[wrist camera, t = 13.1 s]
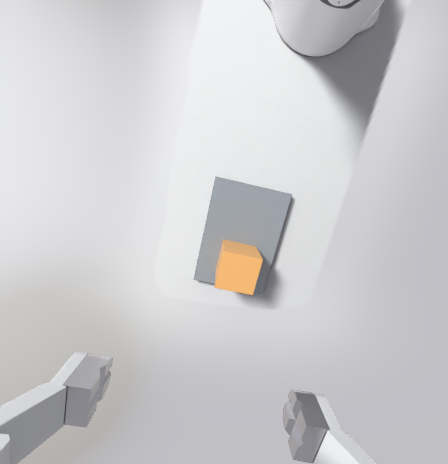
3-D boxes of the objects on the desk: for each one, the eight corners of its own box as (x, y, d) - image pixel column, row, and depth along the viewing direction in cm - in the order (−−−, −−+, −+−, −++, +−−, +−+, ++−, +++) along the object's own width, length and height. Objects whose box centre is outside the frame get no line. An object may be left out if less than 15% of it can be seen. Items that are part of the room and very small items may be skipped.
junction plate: (215, 176, 41) (215, 176, 35) (289, 193, 42) (300, 196, 36) (194, 276, 46) (190, 290, 40) (261, 290, 47) (267, 306, 41)
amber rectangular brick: (223, 239, 42) (223, 251, 36) (256, 246, 43) (262, 259, 36) (215, 270, 44) (214, 287, 37) (247, 277, 44) (252, 295, 37)
